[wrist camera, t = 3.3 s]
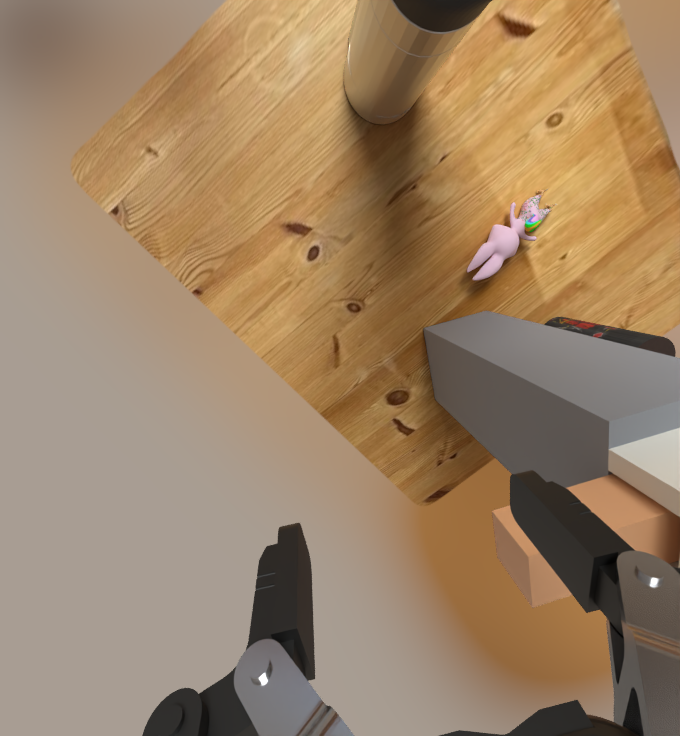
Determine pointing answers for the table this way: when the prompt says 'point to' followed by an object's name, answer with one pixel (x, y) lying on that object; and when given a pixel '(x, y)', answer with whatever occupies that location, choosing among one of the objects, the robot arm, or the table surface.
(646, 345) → the deodorant
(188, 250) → the table surface
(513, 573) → the plug
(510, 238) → the pink toy figure
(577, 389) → the socket post
